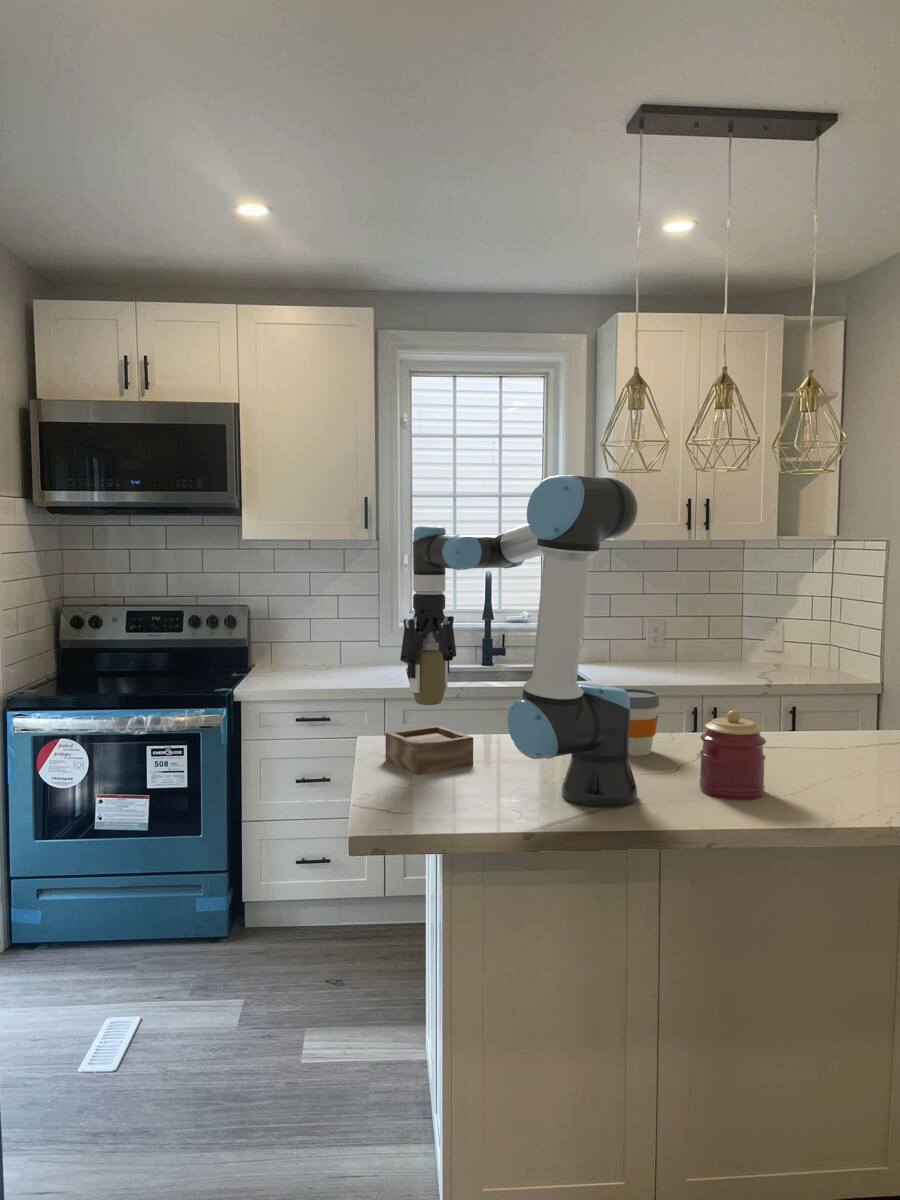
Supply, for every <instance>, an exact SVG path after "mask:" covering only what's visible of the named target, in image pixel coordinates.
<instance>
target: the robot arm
mask: <svg viewBox="0 0 900 1200" xmlns="http://www.w3.org/2000/svg"><path fill="white" fill-rule="evenodd" d="M637 515H638V502H637V499H636V496H635V494H634V492H633V491H632V489H631V488H630V487H629V486H628V485H627V484H625V483H624V482H623V481H621V480H618V479H616V478H611V477H599V476H598V477H595V476H585V475H584V476H582V475H573V474H569V475H568V474H565V475H553V476H549V477H547V478H545V479H543V480H541V481H540V483H539V484H538V485H536V486H535V488H534V489H533V491H532V492H531V495H530V497H529V500H528V503H527V508H526V522H527V523H526V524H523V525H520V526H517V527H515V528H512V529H509V530H507V531H505V532H501V533H499V534H495V535H494V534H493V535H491V534H489V535H485V534H480V535H479V534H477V535H476V534H475V535H472V534H468V535H467V534H447V533H446V532H447V531H446V528H445V527H444V526H422V525H421V526H416V527H415V528H414V530H413V538H412V539H413V541H412V567H413V568H412V571H413V574H412V578H413V579H412V590H413V591H414V592H415V593H414V594H413V595H412V608H413V610H414V615H413V617H411V618H404V619H403V621H402V622H403V627H404V628H403V629H404V630H403V637H402V645H401V651H400V660H399V661H400V662H402V663H405V664H407V677H408V679H409V692H410V693H413V692H415V693H420V665H419V664H417V661H418V658H419V655H420V652H421V649H422V646H423V643H424V640H425V637H427V635H428V633H431V632H433V637H434V642H438V643H439V649H438V651H440V652H441V653H442V654H443V662H444V673H445V684H446V689H448V687H449V686H448V685H449V683H448V679H449V678H448V677H449V676H448V675H449V674H450V661H453V659H454V658H455V657H456V656H457V650H456V649H457V648H456V641H455V633H454V620H455V617H454V616H453V615H447V614H446V615H445V614H444V610H445V608H446V595H445V594H444V593H445V591H446V569H451V570H457V571H460V570H461V571H464V570H470V569H471V570H473V569H500V568H501V569H512V568H518V567H520V566H522V565H523V563H524V562H525V561H528V560H530V559H533V558H536V557H539V556H542V555H543V563H542V570H541V571H542V573H541V582H540V583H541V584H540V592H539V602H538V603H539V604H538V615H537V623H536V624H537V625H536V635H535V642H534V643H535V644H534V652H533V664H532V675H531V678H529V679H528V680H527V681H526V682H524V683H523V685H522V695H521V696H522V697H521V698H520V699H517V700H516V701H514V702H512V705H510V706H509V710H508V712H507V727H508V728H507V729H508V732H509V735H510V738H511V740H512V742H513V744H514V746H515V747H516V748H517V750H518V751H519V752H520V753H521V754H522V755H524V757H526V758H528V759H532V760H540V759H541V760H542V759H547V760H550V759H553V758H556V757H560V756H561V757H562V756H565V755H566V756H567V755H570V754H571V756H570V761H569V765H568V766H567V770H566V773H565V777H564V780H563V782H562V784H561V785H562V786H561V796H562V798H563V799H564V800H565V801H566V802H569V803H571V804H574V805H577V806H581V807H588V808H595V809H596V808H597V809H614V808H615V809H617V808H623V807H628V806H631V805H633V804H635V803H636V802H637V801H638V787H637V784H636V779H635V777H634V774H633V771H632V767H631V765H630V764H631V763H630V756H629V736H630V711H631V709H630V697H629V694H628V693H627V691H625V690H624V689H625V688H620V687H617V686H616V687H615V686H612V685H611V686H609V685H603V684H597V683H584V682H583V683H581V682H578V681H577V680H578V674H579V673H578V672H579V663H580V653H581V644H582V636H583V625H584V616H585V609H586V608H585V607H586V599H587V588H588V580H589V572H590V571H589V570H590V561H591V559H592V558H593V557H594V556H596V555H597V554H598V553H599V552H600V547H601V546H600V544H601V542H603V541H604V542H605V541H606V540H610V539H615V538H619V537H620V536H622V535H625V534H626V533H627V532H628V531H629V530H630V529H631V528H632V527H633V526H634V524H635V522H636V519H637Z"/></svg>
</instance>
